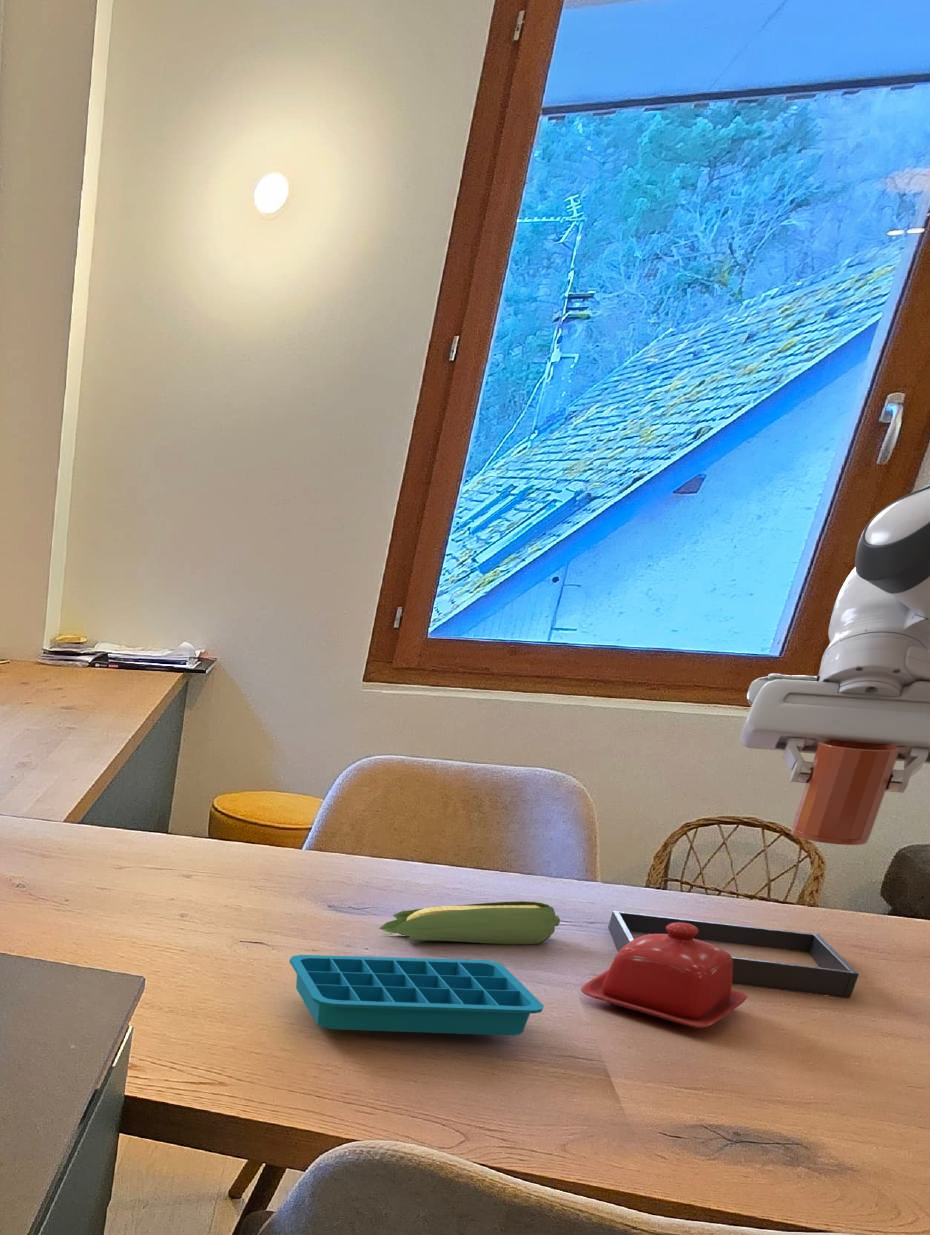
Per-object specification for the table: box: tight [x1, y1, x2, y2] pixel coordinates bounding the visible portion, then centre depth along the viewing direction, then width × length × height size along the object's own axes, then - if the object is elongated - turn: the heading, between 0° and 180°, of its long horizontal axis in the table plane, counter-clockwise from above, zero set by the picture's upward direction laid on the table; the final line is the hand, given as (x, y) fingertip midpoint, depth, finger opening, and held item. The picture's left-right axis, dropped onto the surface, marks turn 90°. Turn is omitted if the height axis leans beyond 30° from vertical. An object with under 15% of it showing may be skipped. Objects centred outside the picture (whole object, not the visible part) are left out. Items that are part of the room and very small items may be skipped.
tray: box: [607, 910, 860, 999], centre depth 126 cm, size 19×13×3 cm
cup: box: [790, 740, 900, 846], centre depth 127 cm, size 7×7×10 cm
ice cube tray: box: [289, 954, 545, 1036], centre depth 113 cm, size 12×20×3 cm, turn 83°
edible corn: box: [378, 900, 561, 945], centre depth 133 cm, size 5×20×5 cm, turn 88°
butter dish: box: [580, 922, 748, 1029], centre depth 114 cm, size 12×12×8 cm
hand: (847, 784), depth 126 cm, fingers closed on cup, 7 cm apart
